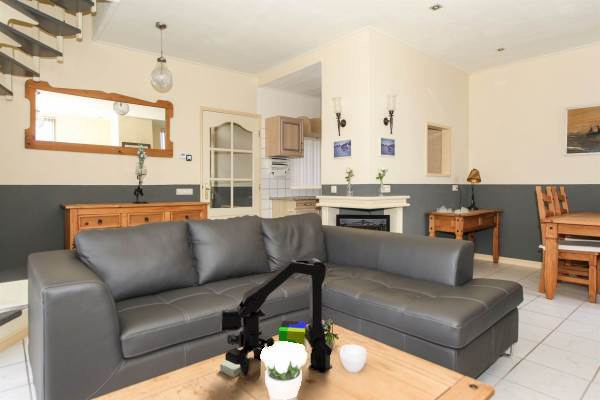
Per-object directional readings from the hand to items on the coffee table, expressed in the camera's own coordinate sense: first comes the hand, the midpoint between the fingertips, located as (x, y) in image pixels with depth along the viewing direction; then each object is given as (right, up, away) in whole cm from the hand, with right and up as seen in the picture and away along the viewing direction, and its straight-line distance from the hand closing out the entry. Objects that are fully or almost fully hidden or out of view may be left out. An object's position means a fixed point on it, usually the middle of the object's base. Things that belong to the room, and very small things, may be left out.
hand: (250, 372), depth 127 cm
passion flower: (+28, 0, +28) cm, 39 cm away
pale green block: (-6, -1, +3) cm, 7 cm away
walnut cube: (0, -1, 0) cm, 1 cm away
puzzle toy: (+14, -1, +19) cm, 24 cm away
